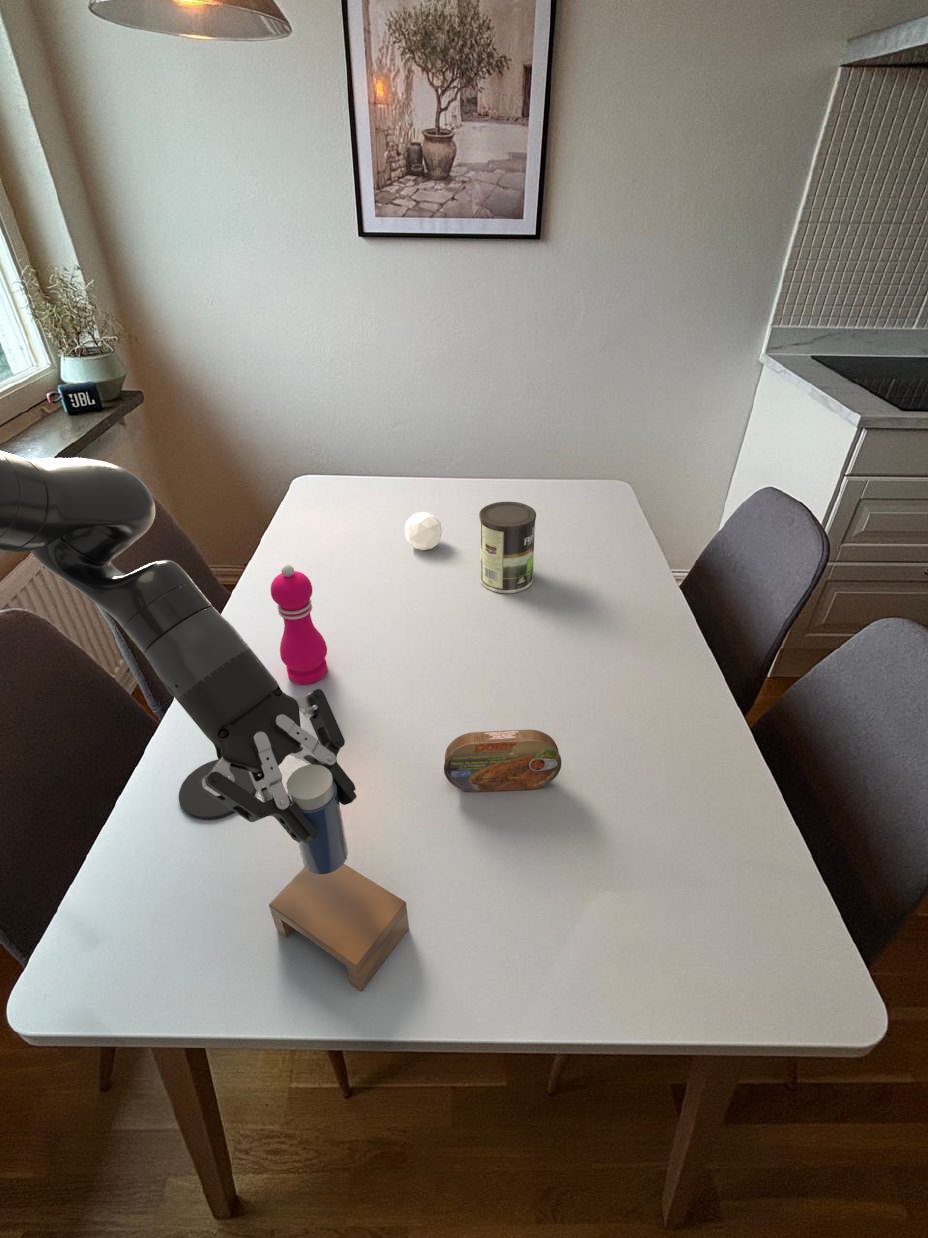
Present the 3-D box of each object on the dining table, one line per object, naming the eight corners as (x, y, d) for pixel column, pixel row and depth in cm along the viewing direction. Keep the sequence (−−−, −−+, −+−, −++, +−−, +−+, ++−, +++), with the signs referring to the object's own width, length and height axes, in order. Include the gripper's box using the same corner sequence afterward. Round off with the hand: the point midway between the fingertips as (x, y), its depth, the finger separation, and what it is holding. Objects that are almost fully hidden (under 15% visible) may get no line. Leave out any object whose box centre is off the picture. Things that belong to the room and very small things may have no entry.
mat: (214, 832, 85) (213, 829, 84) (163, 798, 89) (162, 795, 89) (273, 780, 91) (273, 777, 91) (223, 750, 96) (222, 747, 96)
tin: (445, 793, 89) (442, 748, 84) (444, 775, 92) (442, 729, 87) (559, 789, 89) (564, 743, 84) (556, 770, 92) (560, 725, 87)
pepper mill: (316, 652, 114) (296, 547, 102) (339, 673, 109) (321, 566, 98) (277, 671, 110) (252, 564, 98) (299, 693, 106) (275, 584, 94)
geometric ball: (415, 557, 145) (398, 522, 144) (449, 540, 144) (432, 505, 144) (414, 557, 137) (395, 521, 136) (449, 539, 137) (431, 503, 136)
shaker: (326, 882, 64) (310, 809, 58) (292, 860, 66) (273, 787, 60) (357, 848, 67) (345, 775, 61) (324, 828, 69) (308, 755, 63)
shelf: (361, 992, 68) (356, 966, 66) (276, 930, 74) (268, 904, 71) (409, 928, 74) (406, 902, 71) (327, 875, 79) (321, 849, 76)
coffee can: (537, 568, 134) (540, 503, 126) (527, 597, 126) (530, 529, 118) (486, 562, 137) (486, 498, 129) (473, 590, 129) (473, 523, 120)
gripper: (153, 706, 53) (292, 875, 54) (287, 616, 62) (401, 761, 64) (131, 730, 58) (257, 882, 59) (257, 643, 68) (363, 777, 69)
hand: (331, 819), depth 62 cm, fingers closed on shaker, 4 cm apart
